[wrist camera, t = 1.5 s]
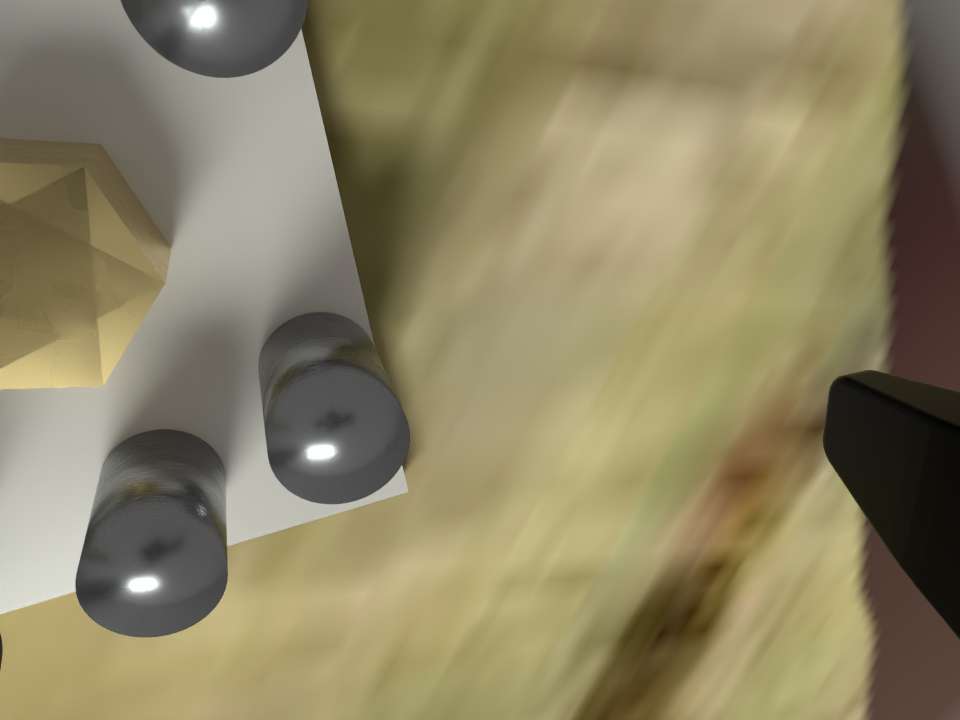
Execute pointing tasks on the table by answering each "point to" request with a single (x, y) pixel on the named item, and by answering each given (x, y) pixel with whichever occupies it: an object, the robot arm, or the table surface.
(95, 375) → the yellow faceted gem
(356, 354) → the spacer posts
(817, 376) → the table surface
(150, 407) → the tray
